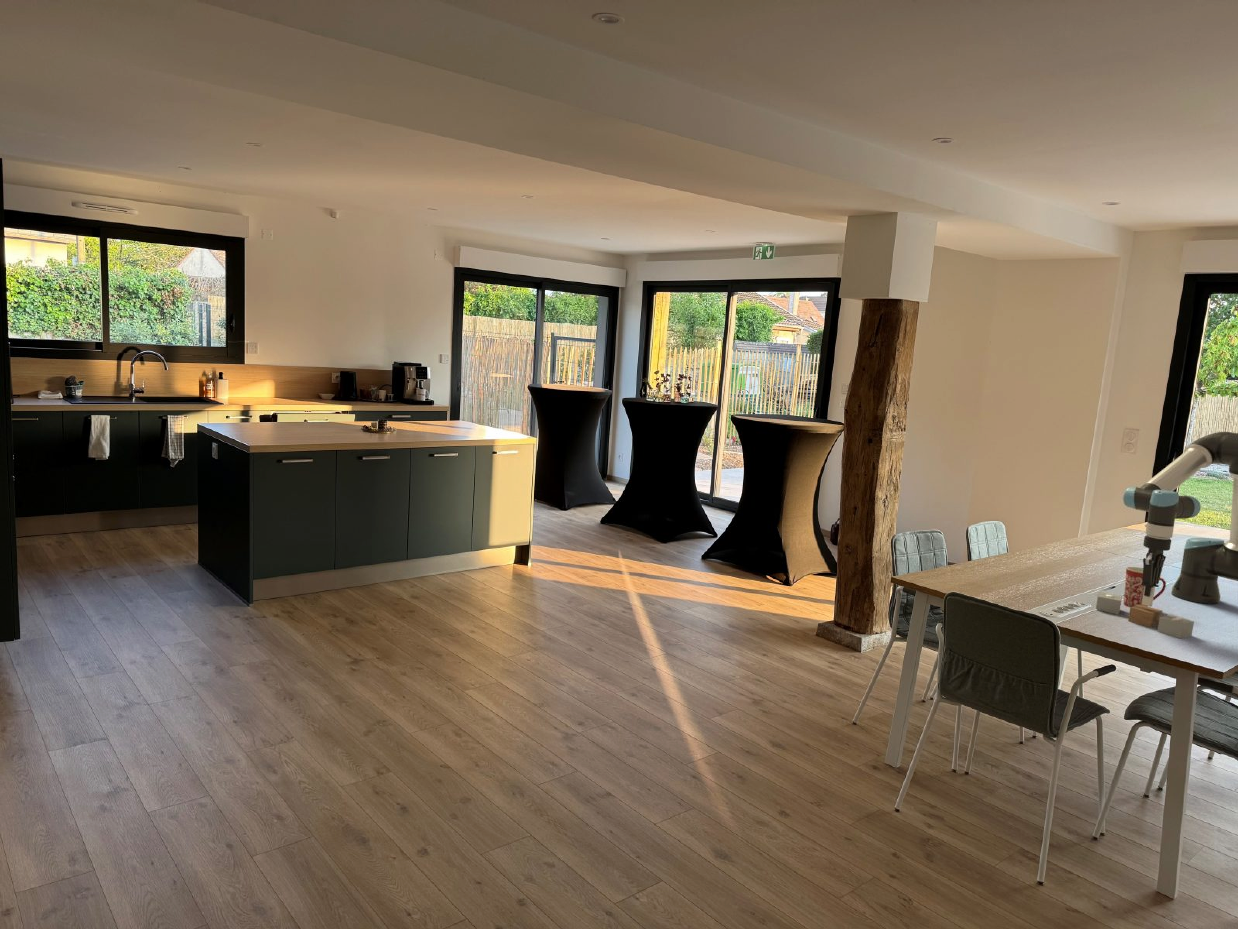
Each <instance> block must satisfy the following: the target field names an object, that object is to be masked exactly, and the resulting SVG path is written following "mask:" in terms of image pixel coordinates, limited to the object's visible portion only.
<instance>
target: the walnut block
mask: <svg viewBox="0 0 1238 929" xmlns="http://www.w3.org/2000/svg"><path fill="white" fill-rule="evenodd" d="M1162 615H1163V610H1161V609H1158V608H1154V607H1152V606H1151V607H1150V606H1144V605H1136V606H1133V607H1129V613H1128V622H1131V623H1134V624H1137V625H1141V626H1145V627H1147V628H1153V627H1158V625H1159V619H1160V617H1163V616H1162Z"/></svg>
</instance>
